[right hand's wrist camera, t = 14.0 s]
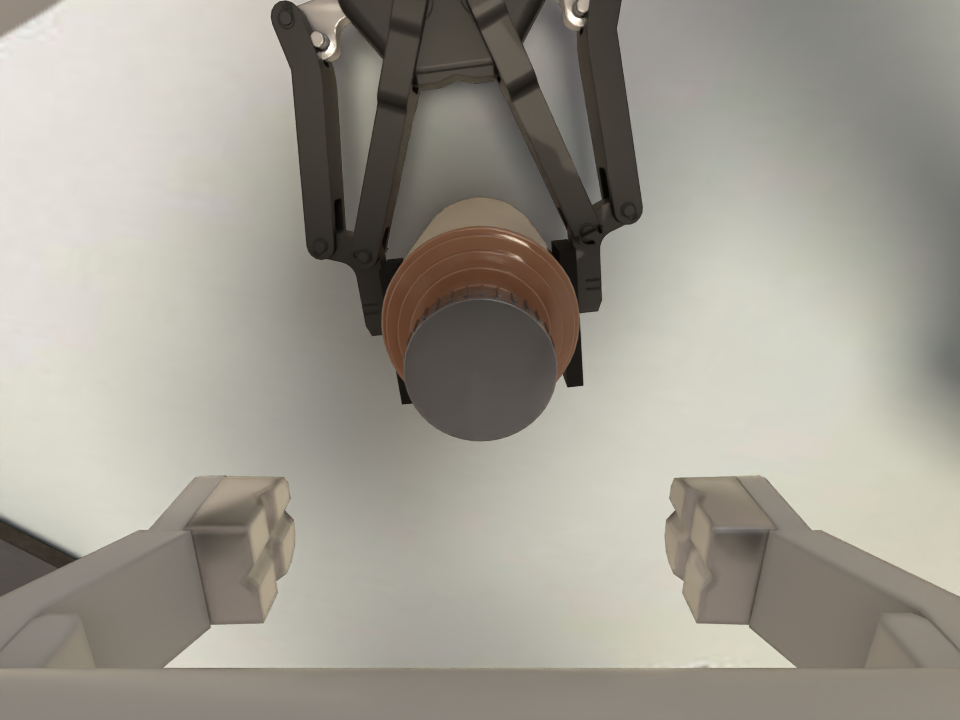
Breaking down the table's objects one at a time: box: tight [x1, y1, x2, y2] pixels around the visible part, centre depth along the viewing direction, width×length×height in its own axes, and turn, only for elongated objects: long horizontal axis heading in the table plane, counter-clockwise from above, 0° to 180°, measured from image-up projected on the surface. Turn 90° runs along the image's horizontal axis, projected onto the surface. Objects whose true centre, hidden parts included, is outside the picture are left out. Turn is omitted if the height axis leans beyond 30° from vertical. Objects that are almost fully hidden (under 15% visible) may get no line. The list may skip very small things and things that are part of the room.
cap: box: [403, 285, 558, 441], centre depth 17 cm, size 4×5×2 cm
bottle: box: [382, 197, 579, 382], centre depth 25 cm, size 7×7×17 cm
